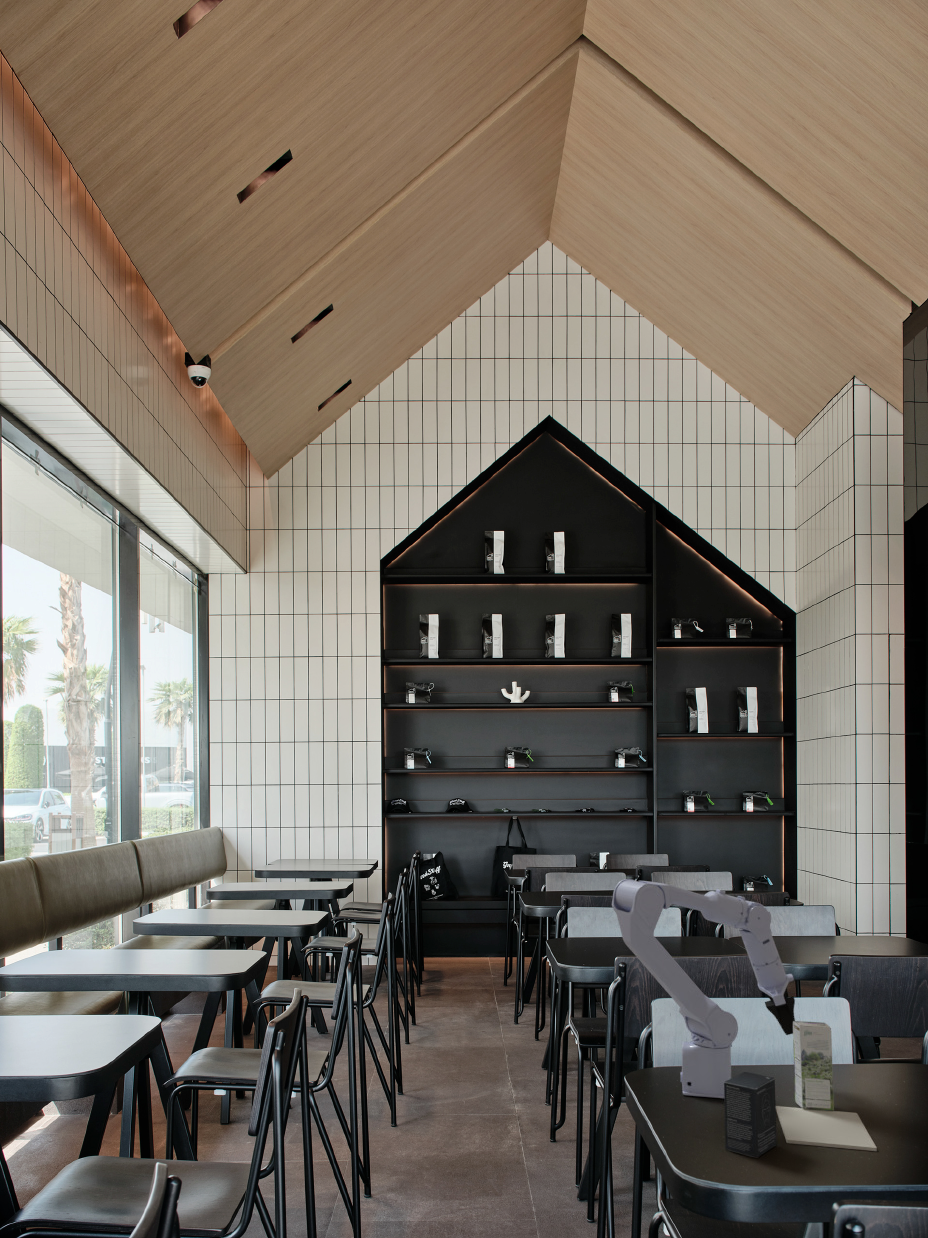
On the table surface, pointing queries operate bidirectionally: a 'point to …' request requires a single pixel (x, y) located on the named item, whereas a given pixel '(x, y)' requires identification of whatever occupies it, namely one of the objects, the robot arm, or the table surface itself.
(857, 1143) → the mat
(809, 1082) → the syrup box
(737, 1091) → the box
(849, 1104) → the table surface
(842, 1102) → the table surface
